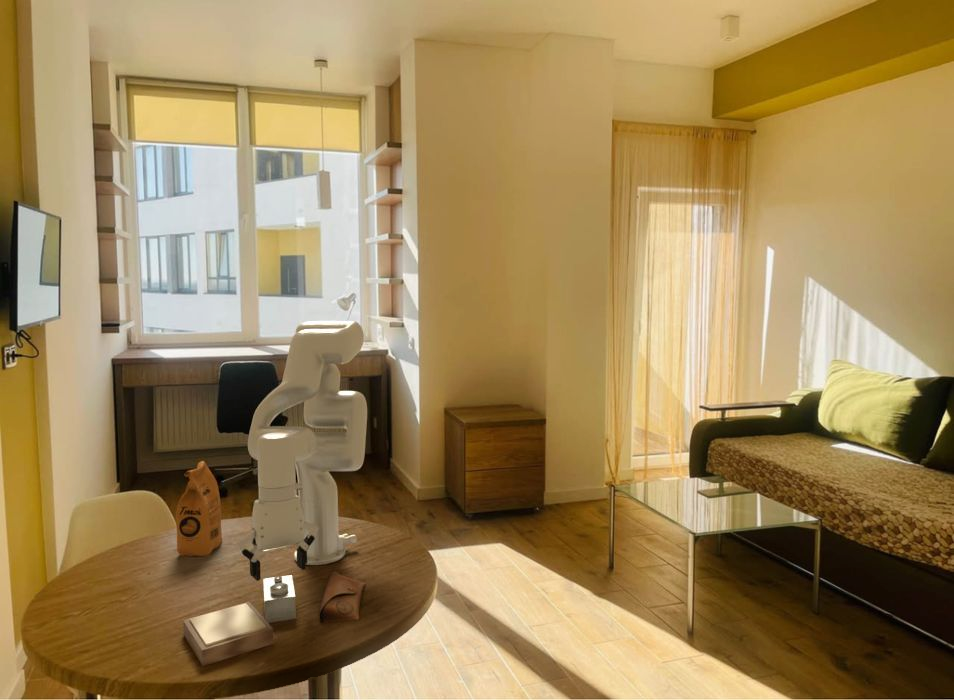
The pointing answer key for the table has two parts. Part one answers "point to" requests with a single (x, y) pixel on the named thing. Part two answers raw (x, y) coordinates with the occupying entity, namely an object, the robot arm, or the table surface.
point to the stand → (227, 633)
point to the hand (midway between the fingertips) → (279, 573)
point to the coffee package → (199, 514)
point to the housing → (279, 599)
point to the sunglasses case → (341, 599)
